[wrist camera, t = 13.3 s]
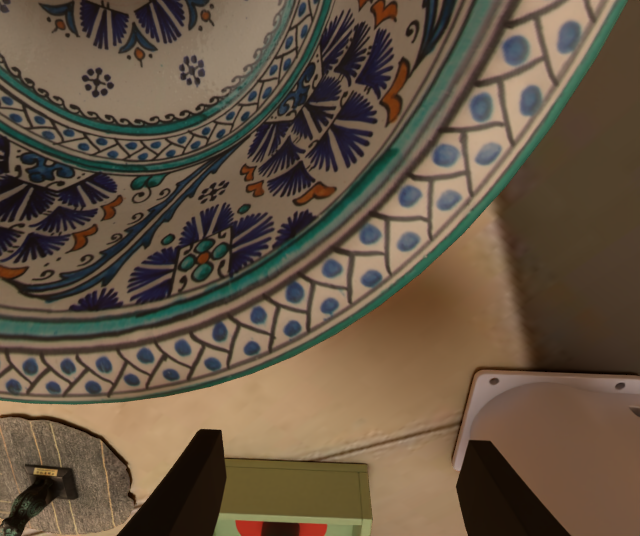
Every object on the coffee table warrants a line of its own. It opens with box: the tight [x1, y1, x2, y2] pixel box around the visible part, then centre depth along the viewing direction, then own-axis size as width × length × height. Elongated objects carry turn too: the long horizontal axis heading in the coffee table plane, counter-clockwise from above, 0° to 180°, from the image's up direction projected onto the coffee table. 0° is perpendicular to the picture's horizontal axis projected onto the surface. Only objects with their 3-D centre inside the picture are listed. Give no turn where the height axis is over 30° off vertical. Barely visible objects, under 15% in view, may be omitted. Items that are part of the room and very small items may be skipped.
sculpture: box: [0, 417, 134, 536], centre depth 26 cm, size 12×9×8 cm
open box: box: [213, 459, 373, 536], centre depth 25 cm, size 11×10×4 cm
